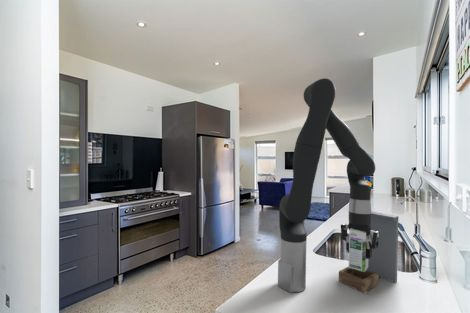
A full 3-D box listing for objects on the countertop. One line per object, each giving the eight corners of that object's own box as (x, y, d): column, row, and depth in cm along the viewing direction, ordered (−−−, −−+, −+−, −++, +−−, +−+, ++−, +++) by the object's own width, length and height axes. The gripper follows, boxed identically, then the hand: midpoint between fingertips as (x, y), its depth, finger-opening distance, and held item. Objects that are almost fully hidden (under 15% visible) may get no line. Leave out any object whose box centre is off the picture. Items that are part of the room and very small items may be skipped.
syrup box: (348, 268, 97) (348, 229, 97) (352, 263, 101) (353, 226, 101) (364, 272, 93) (365, 232, 93) (368, 267, 98) (369, 229, 98)
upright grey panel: (392, 284, 97) (394, 217, 97) (351, 268, 110) (352, 209, 109) (397, 281, 99) (398, 216, 99) (356, 266, 112) (357, 208, 112)
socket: (365, 293, 90) (365, 281, 90) (338, 281, 98) (338, 271, 98) (378, 284, 96) (378, 274, 96) (352, 274, 104) (352, 264, 104)
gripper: (336, 208, 100) (335, 251, 101) (374, 215, 89) (373, 264, 89) (346, 206, 105) (345, 247, 105) (384, 213, 94) (383, 259, 94)
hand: (358, 255), depth 97 cm, fingers closed on syrup box, 6 cm apart
